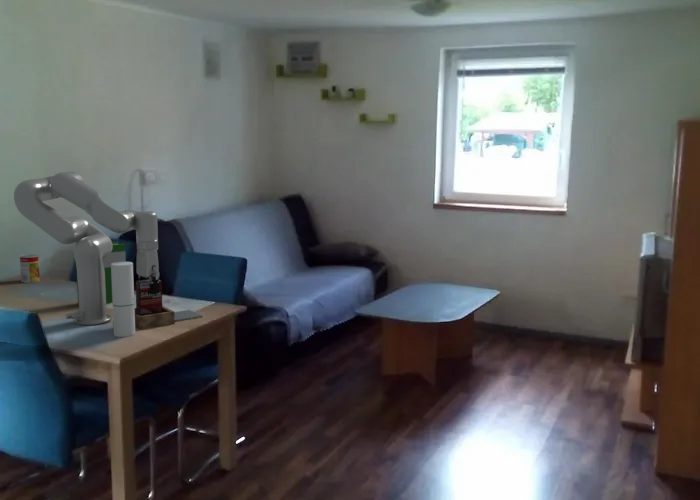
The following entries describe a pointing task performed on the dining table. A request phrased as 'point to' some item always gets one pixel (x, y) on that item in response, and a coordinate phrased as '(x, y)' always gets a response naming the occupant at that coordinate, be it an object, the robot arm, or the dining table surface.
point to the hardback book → (114, 256)
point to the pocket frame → (155, 319)
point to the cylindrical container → (123, 299)
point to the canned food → (29, 268)
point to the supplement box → (147, 298)
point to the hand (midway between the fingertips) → (148, 291)
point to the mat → (185, 315)
